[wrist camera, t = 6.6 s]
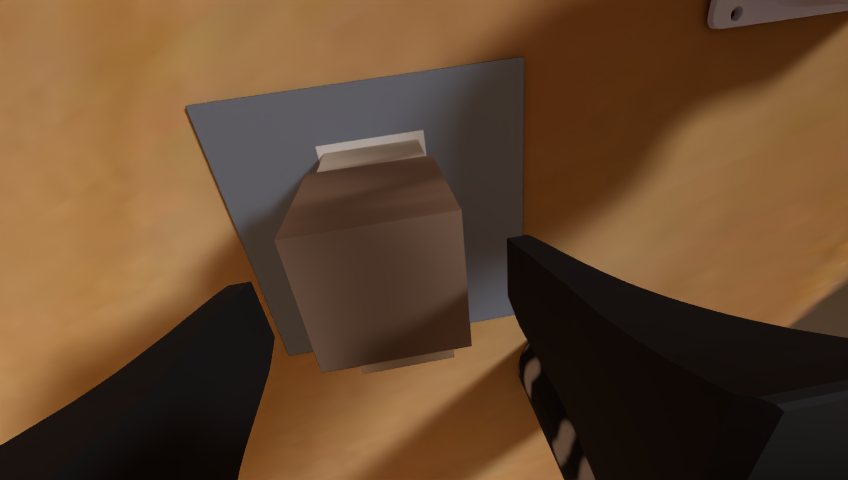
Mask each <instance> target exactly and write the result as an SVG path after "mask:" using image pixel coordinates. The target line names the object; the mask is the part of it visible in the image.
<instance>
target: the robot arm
mask: <svg viewBox="0 0 848 480" xmlns="http://www.w3.org/2000/svg"><path fill="white" fill-rule="evenodd" d="M734 9H735V14H734V16H733V18H732V19H731V13H732V11H733V10H734ZM842 11H848V0H711V4H710V9H709V13H708V20H707V23H708V26H709V27H710V28H711V29H726V28H732V27H739V26H746V25H753V24H760V23H767V22H774V21H780V20H787V19H794V18H801V17H808V16H815V15H822V14H829V13H835V12H842ZM507 289H508V298H509V301H510V303H511V306H512V309H513V311H514V314H515V316H516V319H517V321H518V323H519V326H520V327H521V329H522V331H523V333H524V335H525V337H526V338H527V340H528V342H529V344H530V346H531V347H532V349H533V351H534V353H535V354H536V356H537V358H538V360H539V362H540V363H541V365H542V367H543V369H544V370H545V372H546V374H547V376H548V377H549V379H550V381H551V383H552V385H553V386H554V388H555V390H556V392H557V394H558V396H559V398H560V400H561V402H562V403H563V405H564V408H565V410H566V412H567V414H568V417H569V419H570V421H571V424H572V426H573V428H574V430H575V433H576V435H577V437H578V439H579V442H580V444H581V447H582V449H583V451H584V454H585V456H586V459H587V461H588V463H589V466H590V468H591V471H592V473H593V475H594V478H595V480H848V338H844V337H837V336H832V335H826V334H820V333H813V332H807V331H802V330H796V329H791V328H786V327H781V326H777V325H772V324H767V323H763V322H758V321H753V320H749V319H744V318H740V317H736V316H732V315H728V314H724V313H720V312H716V311H713V310H709V309H706V308H702V307H699V306H695V305H692V304H688V303H685V302H681V301H678V300H675V299H672V298H669V297H666V296H663V295H660V294H657V293H654V292H652V291H649V290H646V289H643V288H640V287H638V286H635V285H632V284H630V283H627V282H625V281H622V280H620V279H618V278H616V277H613V276H611V275H609V274H606V273H604V272H602V271H600V270H597V269H595V268H593V267H591V266H589V265H587V264H585V263H583V262H581V261H579V260H577V259H575V258H573V257H571V256H569V255H567V254H565V253H563V252H561V251H559V250H557V249H555V248H554V247H552V246H550V245H548V244H546V243H544V242H542V241H540V240H538V239H536V238H534V237H532V236H529V235H523V236H517V237H512V238H507ZM274 339H275V337H274V334H273V332H272V330H271V327H270V325H269V323H268V320H267V318H266V316H265V313H264V311H263V309H262V306H261V304H260V302H259V299H258V297H257V294H256V292H255V290H254V287H253V285H252V283H251V282H246V283H241V284H235V285H229V286H227V287H226V288H224V289H223V290H221V291H220V292H218V293H217V294H216V295H215V296H213V297H212V298H211V299H209V300H208V301H207V302H206V303H204V304H203V305H202V306H201V307H199V308H198V309H197V310H196V311H195V312H193V313H192V314H191V315H190V316H188V317H187V318H186V319H185V320H184V321H182V322H181V323H180V324H179V325H177V326H176V327H175V328H174V329H172V330H171V331H170V332H169V333H168V334H166V335H165V336H164V337H163V338H161V339H160V340H159V341H157V342H156V343H155V344H153V345H152V346H151V347H149V348H148V349H147V350H146V351H144V352H143V353H142V354H140V355H139V356H138V357H136V358H135V359H134V360H132V361H131V362H130V363H128V364H127V365H126V366H125V367H123V368H122V369H120V370H119V371H118V372H116V373H115V374H113V375H112V376H110V377H109V378H108V379H106V380H105V381H103V382H102V383H100V384H99V385H97V386H96V387H94V388H93V389H91V390H90V391H88V392H87V393H85V394H84V395H82V396H81V397H79V398H78V399H76V400H75V401H73V402H72V403H70V404H69V405H67V406H65V407H64V408H62V409H61V410H59V411H57V412H56V413H54V414H52V415H51V416H49V417H47V418H46V419H44V420H42V421H41V422H39V423H37V424H36V425H34V426H32V427H30V428H29V429H27V430H25V431H24V432H22V433H20V434H19V435H17V436H15V437H14V438H12V439H10V440H9V441H7V442H5V443H4V444H2V445H0V480H238V475H239V470H240V466H241V463H242V459H243V455H244V452H245V448H246V445H247V442H248V439H249V435H250V432H251V429H252V426H253V423H254V420H255V416H256V413H257V410H258V407H259V404H260V400H261V397H262V394H263V391H264V387H265V384H266V381H267V377H268V374H269V370H270V365H271V359H272V353H273V346H274Z"/></svg>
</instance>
